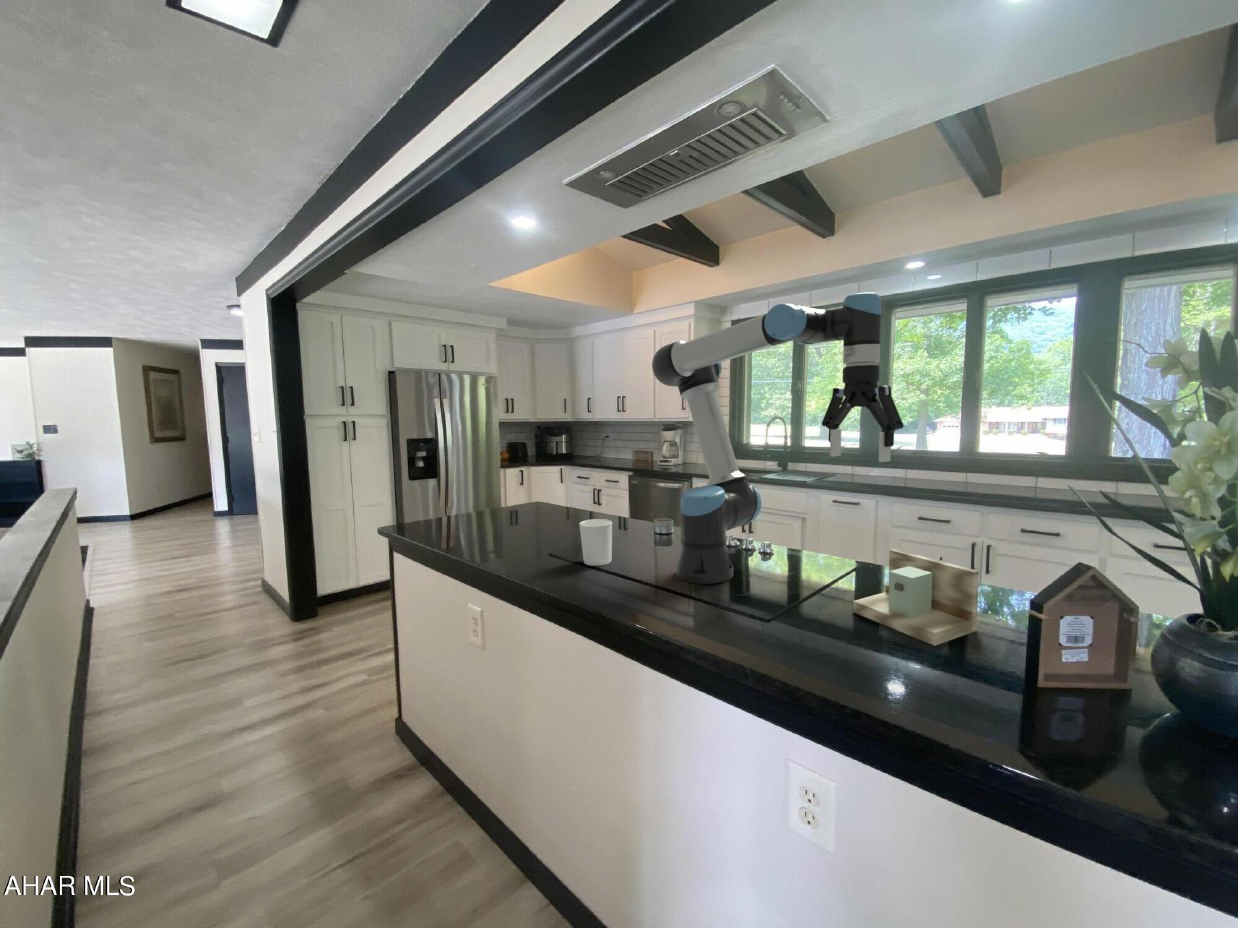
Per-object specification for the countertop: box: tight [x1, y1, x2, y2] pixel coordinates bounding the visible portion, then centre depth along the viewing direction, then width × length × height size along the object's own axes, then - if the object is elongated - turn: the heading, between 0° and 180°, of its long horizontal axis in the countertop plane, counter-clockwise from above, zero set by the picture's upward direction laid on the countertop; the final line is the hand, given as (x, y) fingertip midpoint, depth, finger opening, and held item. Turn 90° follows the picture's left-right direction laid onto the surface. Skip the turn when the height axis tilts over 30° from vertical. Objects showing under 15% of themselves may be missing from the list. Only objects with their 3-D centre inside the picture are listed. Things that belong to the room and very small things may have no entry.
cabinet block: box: [888, 566, 932, 617], centre depth 104 cm, size 5×7×8 cm
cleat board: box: [852, 548, 980, 647], centre depth 105 cm, size 18×12×12 cm
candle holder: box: [578, 518, 613, 567], centre depth 155 cm, size 10×10×12 cm
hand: (858, 458), depth 119 cm, fingers open, 13 cm apart
